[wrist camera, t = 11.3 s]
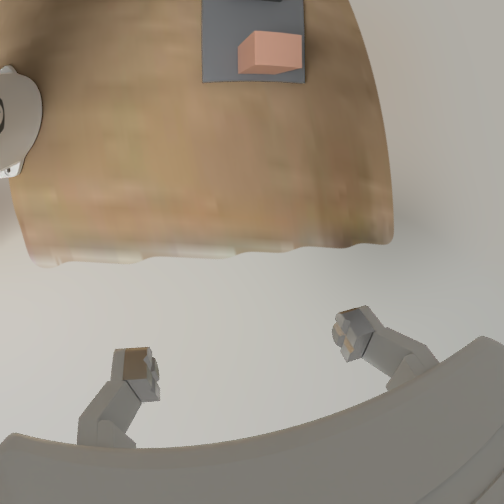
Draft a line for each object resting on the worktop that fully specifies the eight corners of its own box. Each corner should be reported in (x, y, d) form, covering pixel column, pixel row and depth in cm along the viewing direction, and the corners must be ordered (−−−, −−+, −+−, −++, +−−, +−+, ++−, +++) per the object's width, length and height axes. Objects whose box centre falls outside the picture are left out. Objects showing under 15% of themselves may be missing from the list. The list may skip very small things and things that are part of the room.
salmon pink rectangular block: (238, 73, 29) (255, 64, 22) (237, 46, 27) (254, 30, 20) (275, 74, 30) (302, 67, 23) (274, 48, 28) (301, 35, 21)
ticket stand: (202, 83, 30) (204, 80, 27) (203, -41, 19) (206, -55, 15) (300, 83, 33) (314, 82, 29) (296, -34, 22) (308, -44, 18)
